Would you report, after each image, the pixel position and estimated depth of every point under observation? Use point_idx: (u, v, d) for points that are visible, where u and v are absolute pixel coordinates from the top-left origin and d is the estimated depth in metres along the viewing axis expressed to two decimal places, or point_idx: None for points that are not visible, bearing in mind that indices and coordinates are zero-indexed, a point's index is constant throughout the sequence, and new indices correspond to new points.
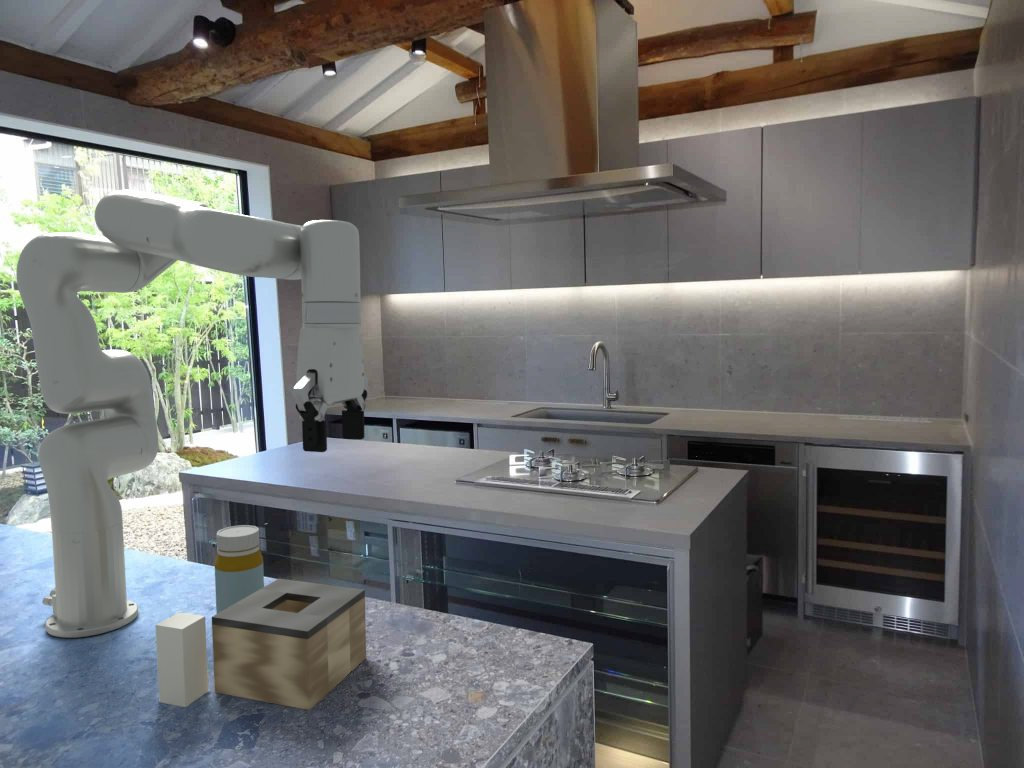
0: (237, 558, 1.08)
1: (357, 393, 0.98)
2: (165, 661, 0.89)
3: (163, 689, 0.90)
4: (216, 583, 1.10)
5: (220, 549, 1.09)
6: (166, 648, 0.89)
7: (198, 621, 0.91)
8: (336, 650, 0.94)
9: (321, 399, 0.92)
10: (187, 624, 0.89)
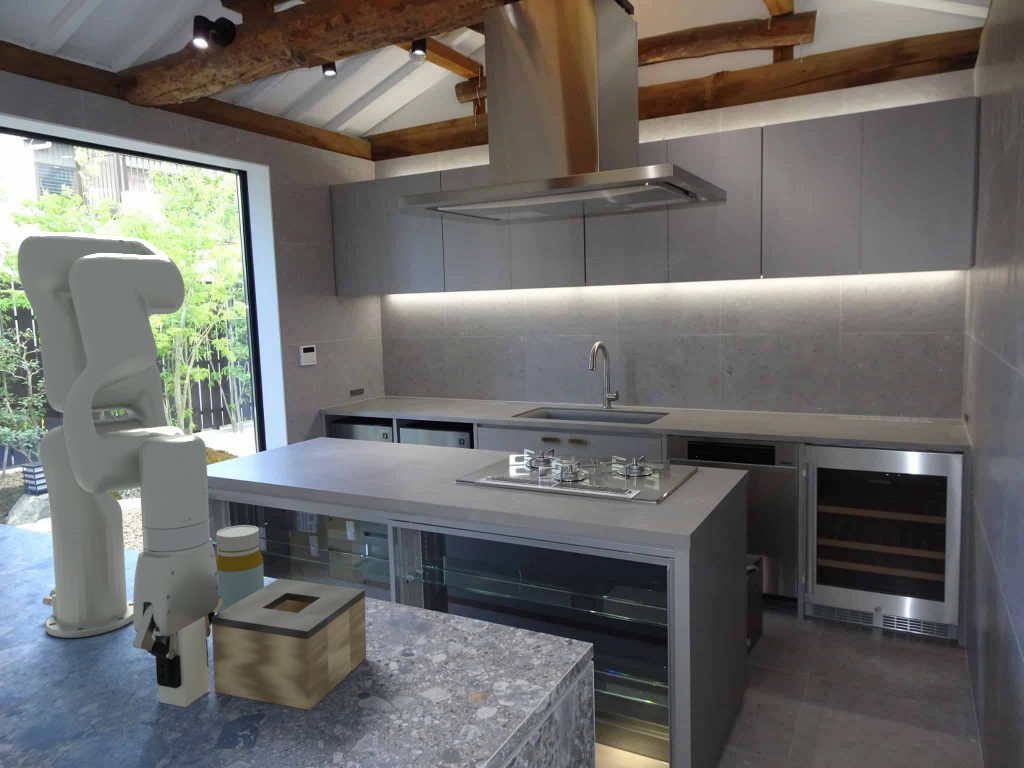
0: (237, 558, 1.08)
1: (208, 610, 0.92)
2: None
3: (163, 689, 0.90)
4: None
5: (220, 549, 1.09)
6: None
7: (198, 621, 0.91)
8: (336, 650, 0.94)
9: (167, 636, 0.87)
10: None
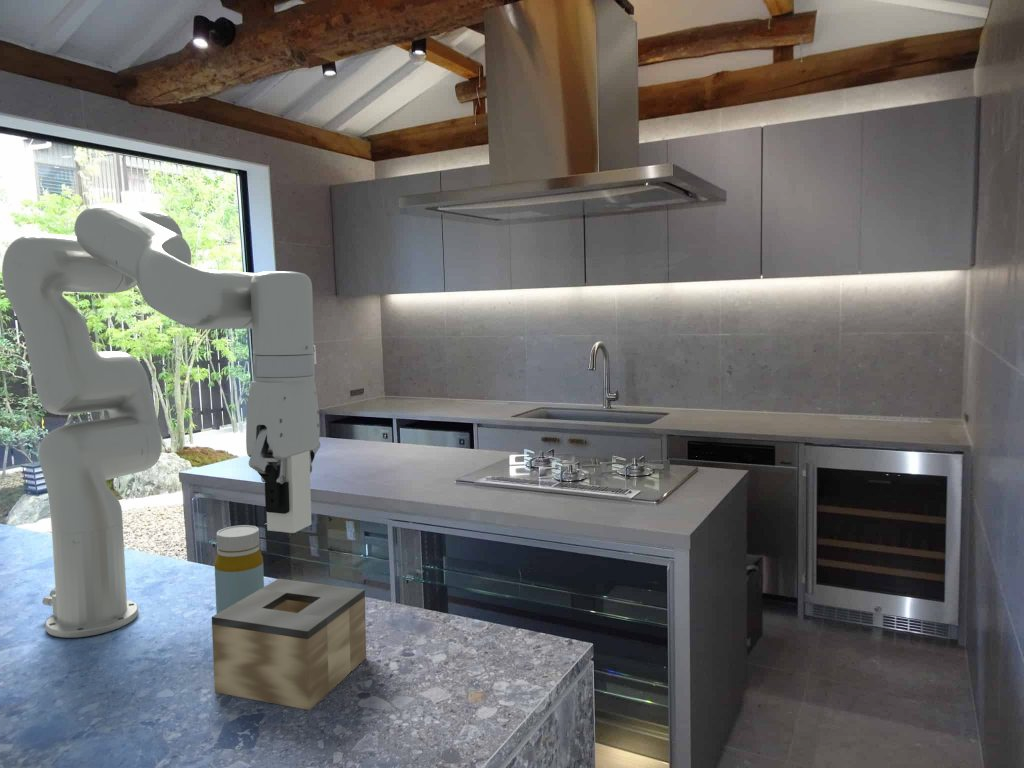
0: (237, 558, 1.08)
1: (311, 445, 0.96)
2: None
3: (271, 517, 0.93)
4: (216, 583, 1.10)
5: (220, 549, 1.09)
6: None
7: (304, 453, 0.94)
8: (336, 650, 0.94)
9: (278, 461, 0.91)
10: None
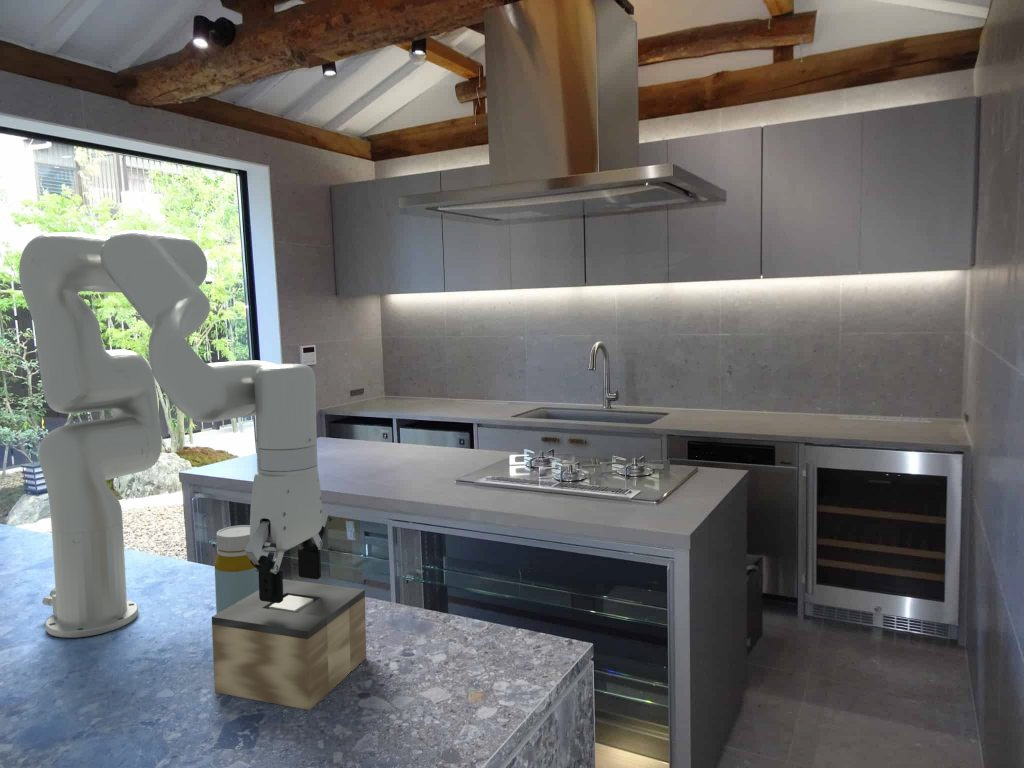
0: (237, 558, 1.08)
1: (314, 532, 0.97)
2: None
3: None
4: (216, 583, 1.10)
5: (220, 549, 1.09)
6: None
7: (307, 603, 0.96)
8: (336, 650, 0.94)
9: (276, 550, 0.91)
10: (298, 606, 0.95)
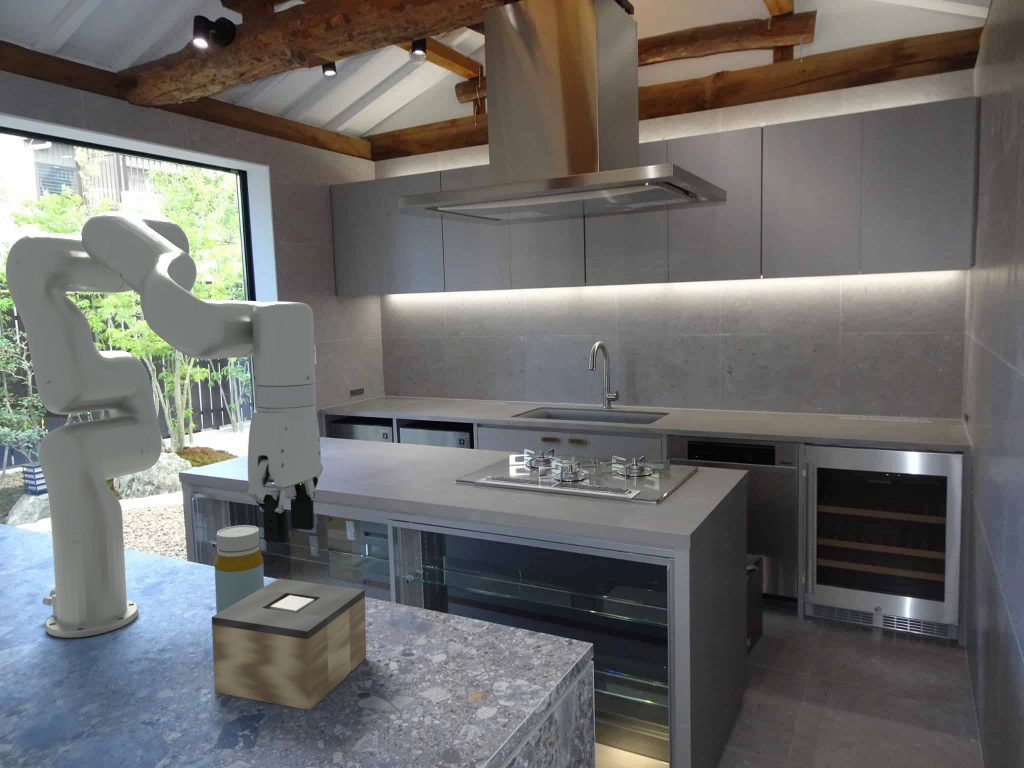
0: (237, 558, 1.08)
1: (313, 473, 0.96)
2: None
3: None
4: (216, 583, 1.10)
5: (220, 549, 1.09)
6: None
7: (308, 604, 0.96)
8: (336, 650, 0.94)
9: (278, 490, 0.91)
10: (299, 606, 0.95)
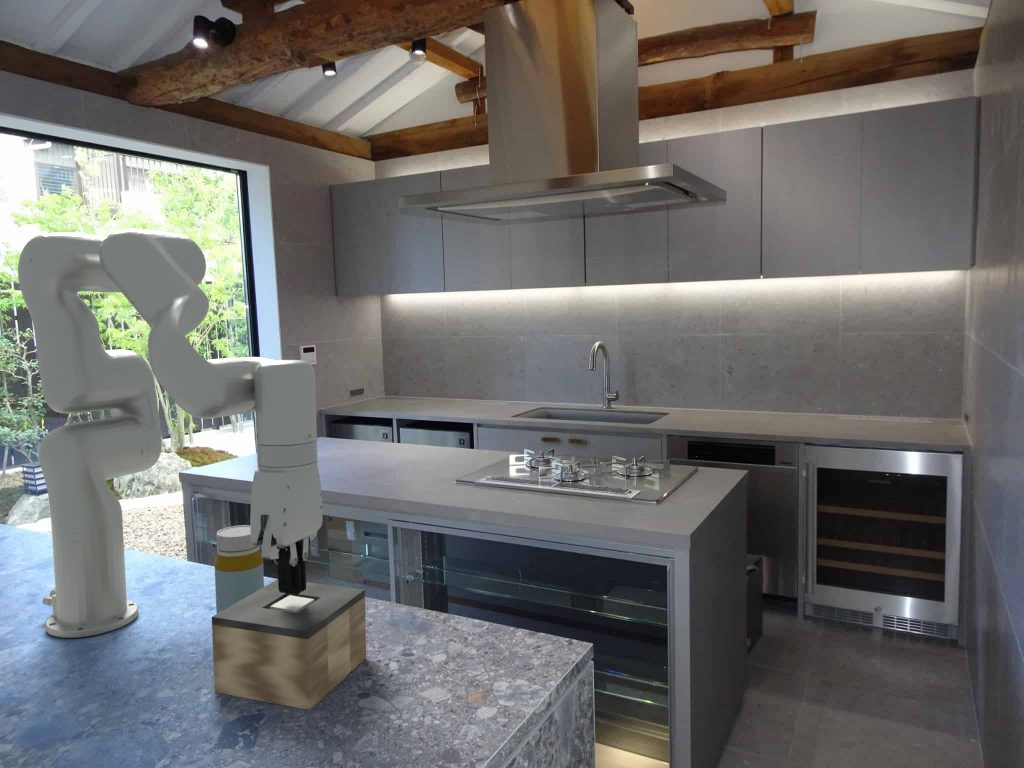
0: (237, 558, 1.08)
1: (315, 528, 0.97)
2: None
3: None
4: (216, 583, 1.10)
5: (220, 549, 1.09)
6: None
7: (308, 604, 0.96)
8: (336, 650, 0.94)
9: (287, 547, 0.93)
10: (299, 606, 0.95)
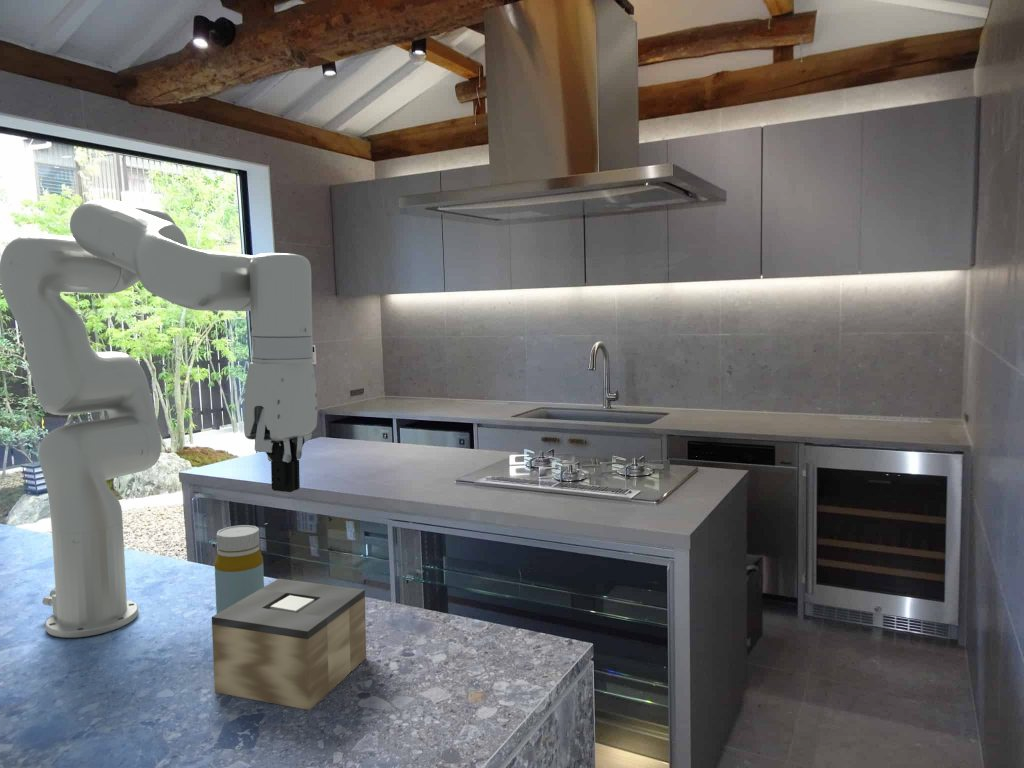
0: (237, 558, 1.08)
1: (309, 428, 0.96)
2: None
3: None
4: (216, 583, 1.10)
5: (220, 549, 1.09)
6: None
7: (308, 604, 0.96)
8: (336, 650, 0.94)
9: (281, 443, 0.92)
10: (299, 606, 0.95)
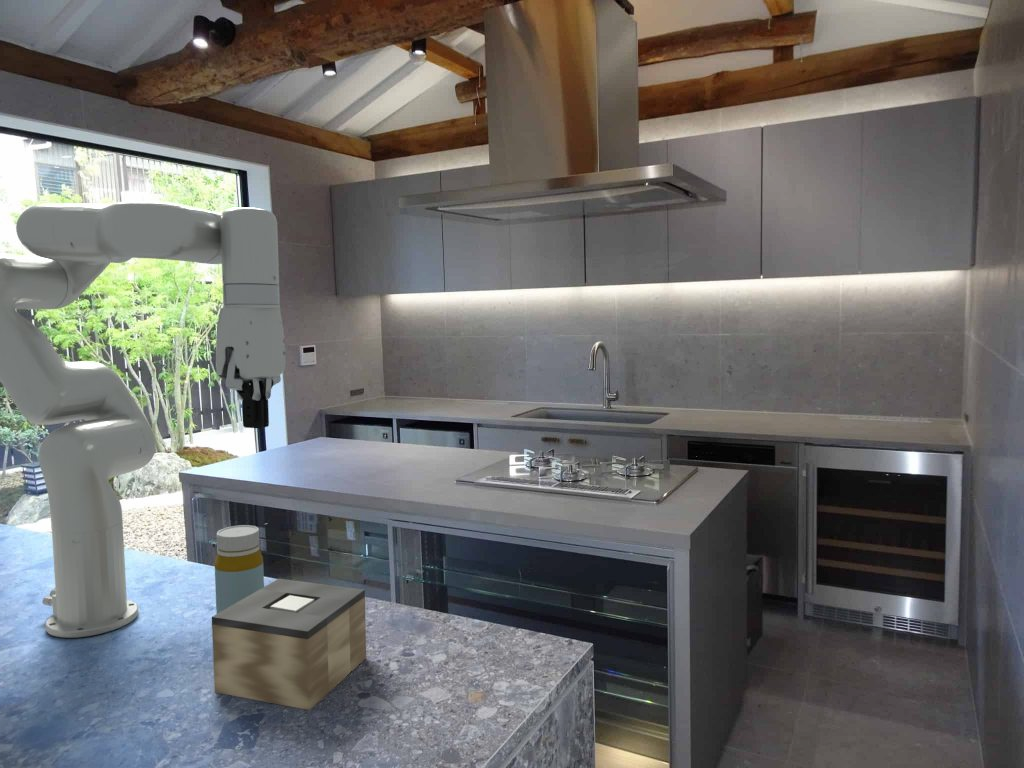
0: (237, 558, 1.08)
1: (277, 370, 1.05)
2: None
3: None
4: (216, 583, 1.10)
5: (220, 549, 1.09)
6: None
7: (308, 604, 0.96)
8: (336, 650, 0.94)
9: (250, 382, 1.01)
10: (299, 606, 0.95)
